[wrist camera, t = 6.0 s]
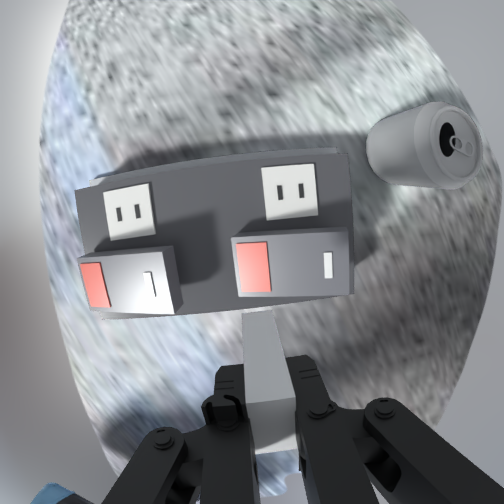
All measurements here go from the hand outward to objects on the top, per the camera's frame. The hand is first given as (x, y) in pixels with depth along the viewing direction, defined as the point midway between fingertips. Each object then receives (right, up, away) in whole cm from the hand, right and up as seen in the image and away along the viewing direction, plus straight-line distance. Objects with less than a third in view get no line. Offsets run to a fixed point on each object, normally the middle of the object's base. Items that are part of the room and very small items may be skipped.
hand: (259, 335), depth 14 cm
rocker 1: (-11, +2, +10) cm, 15 cm away
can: (+15, +15, +14) cm, 26 cm away
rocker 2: (+3, +4, +10) cm, 11 cm away
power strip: (-4, +6, +15) cm, 17 cm away
